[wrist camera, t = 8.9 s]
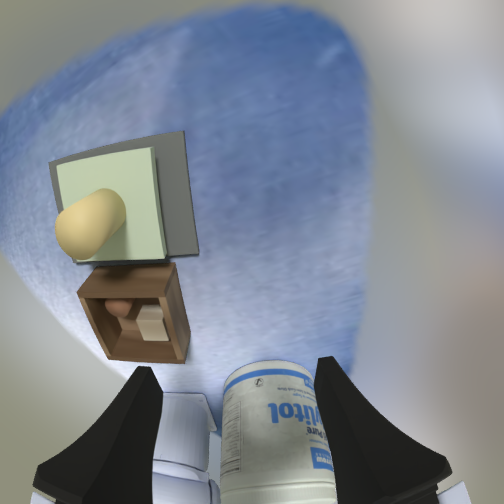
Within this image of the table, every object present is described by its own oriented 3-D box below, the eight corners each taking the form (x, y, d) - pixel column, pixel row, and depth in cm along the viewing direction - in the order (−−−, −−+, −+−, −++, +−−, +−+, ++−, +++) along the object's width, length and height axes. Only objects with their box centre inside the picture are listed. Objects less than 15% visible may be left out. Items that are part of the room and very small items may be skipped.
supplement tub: (327, 361, 26) (365, 491, 13) (290, 408, 30) (307, 513, 16) (235, 347, 24) (238, 504, 11) (213, 399, 28) (209, 516, 15)
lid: (169, 248, 19) (147, 293, 14) (86, 251, 19) (50, 290, 14) (157, 145, 16) (123, 156, 11) (68, 161, 15) (19, 179, 10)
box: (191, 330, 23) (185, 363, 20) (121, 329, 23) (108, 359, 19) (176, 260, 20) (164, 290, 16) (98, 265, 20) (76, 292, 16)
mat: (199, 251, 19) (198, 253, 19) (75, 260, 19) (73, 263, 19) (184, 130, 16) (183, 130, 15) (51, 161, 15) (48, 162, 15)
